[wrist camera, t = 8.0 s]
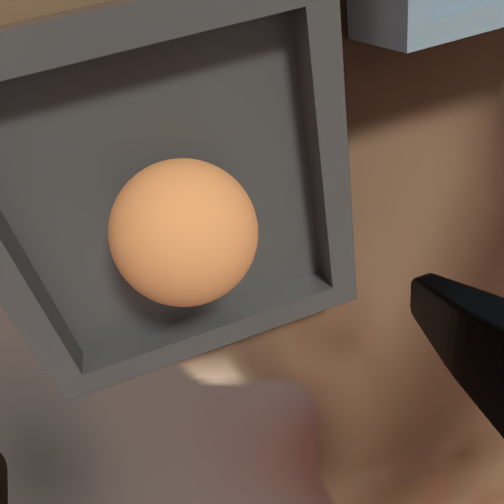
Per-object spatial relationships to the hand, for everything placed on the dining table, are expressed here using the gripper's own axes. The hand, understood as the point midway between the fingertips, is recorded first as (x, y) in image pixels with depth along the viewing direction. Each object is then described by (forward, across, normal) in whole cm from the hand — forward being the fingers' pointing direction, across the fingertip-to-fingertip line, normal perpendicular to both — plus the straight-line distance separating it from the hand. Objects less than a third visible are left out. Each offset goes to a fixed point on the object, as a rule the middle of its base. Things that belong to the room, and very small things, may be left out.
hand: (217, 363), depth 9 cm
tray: (+9, 0, 0) cm, 9 cm away
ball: (+5, 0, 0) cm, 5 cm away
